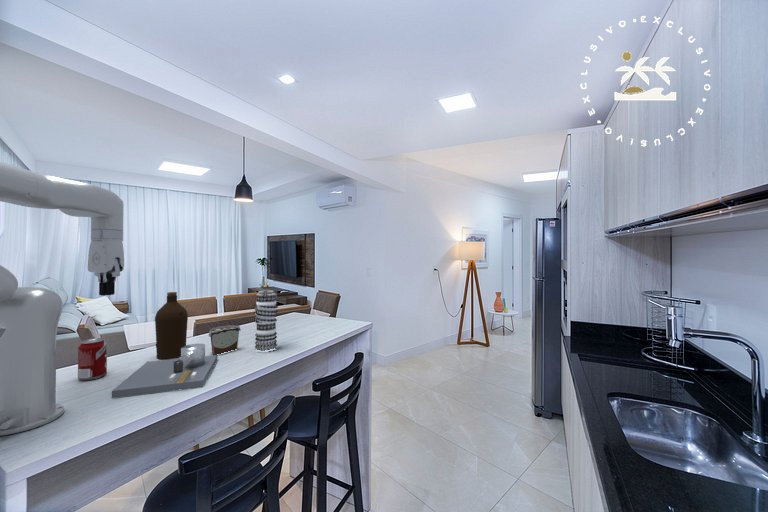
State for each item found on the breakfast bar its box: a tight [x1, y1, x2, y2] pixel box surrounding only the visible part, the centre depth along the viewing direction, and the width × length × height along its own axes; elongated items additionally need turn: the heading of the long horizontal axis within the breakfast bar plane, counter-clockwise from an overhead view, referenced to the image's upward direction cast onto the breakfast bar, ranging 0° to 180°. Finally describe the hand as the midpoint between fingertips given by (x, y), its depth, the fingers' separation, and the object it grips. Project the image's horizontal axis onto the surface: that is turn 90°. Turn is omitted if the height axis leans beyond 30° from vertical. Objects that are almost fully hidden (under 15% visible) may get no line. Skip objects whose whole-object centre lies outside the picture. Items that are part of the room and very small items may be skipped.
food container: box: [208, 325, 241, 356], centre depth 125 cm, size 12×6×10 cm, turn 144°
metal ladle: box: [173, 343, 206, 373], centre depth 98 cm, size 20×7×6 cm, turn 18°
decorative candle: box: [254, 289, 279, 351], centre depth 128 cm, size 9×9×25 cm
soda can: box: [77, 337, 108, 381], centre depth 98 cm, size 7×7×12 cm
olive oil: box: [154, 291, 189, 360], centre depth 120 cm, size 11×11×25 cm
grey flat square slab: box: [111, 355, 218, 399], centre depth 99 cm, size 25×22×3 cm
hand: (106, 294), depth 94 cm, fingers closed
